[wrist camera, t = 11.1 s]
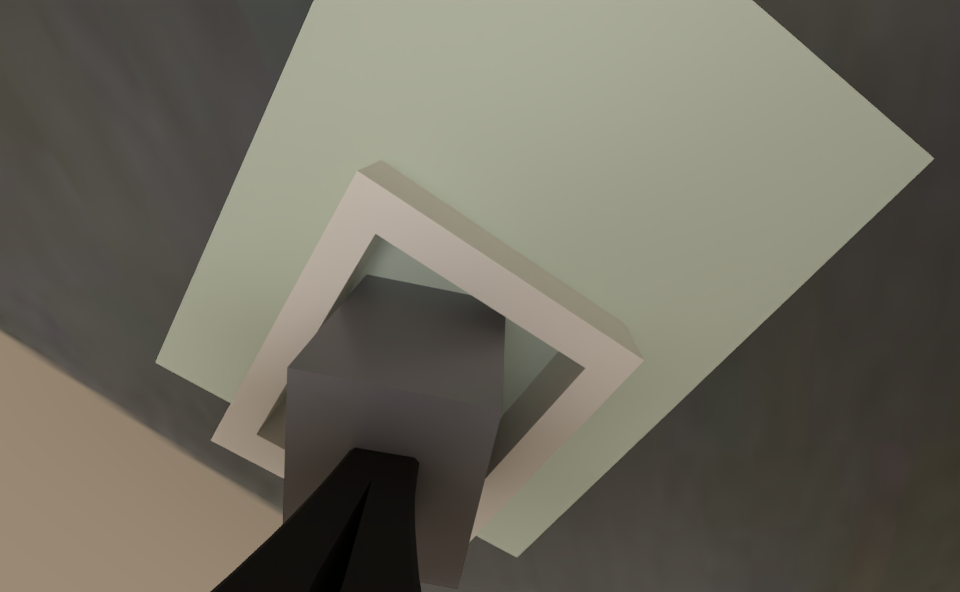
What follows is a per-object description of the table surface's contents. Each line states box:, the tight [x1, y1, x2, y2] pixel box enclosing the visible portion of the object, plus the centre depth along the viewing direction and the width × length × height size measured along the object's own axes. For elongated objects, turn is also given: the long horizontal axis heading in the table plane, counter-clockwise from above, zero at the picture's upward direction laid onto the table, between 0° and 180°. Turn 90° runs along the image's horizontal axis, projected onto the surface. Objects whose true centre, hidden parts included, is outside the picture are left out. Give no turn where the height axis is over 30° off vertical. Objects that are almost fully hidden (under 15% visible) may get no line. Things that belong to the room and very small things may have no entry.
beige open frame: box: [211, 160, 644, 542], centre depth 13 cm, size 8×9×2 cm
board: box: [155, 0, 934, 557], centre depth 13 cm, size 14×17×1 cm
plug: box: [283, 274, 505, 589], centre depth 12 cm, size 4×6×5 cm, turn 169°
